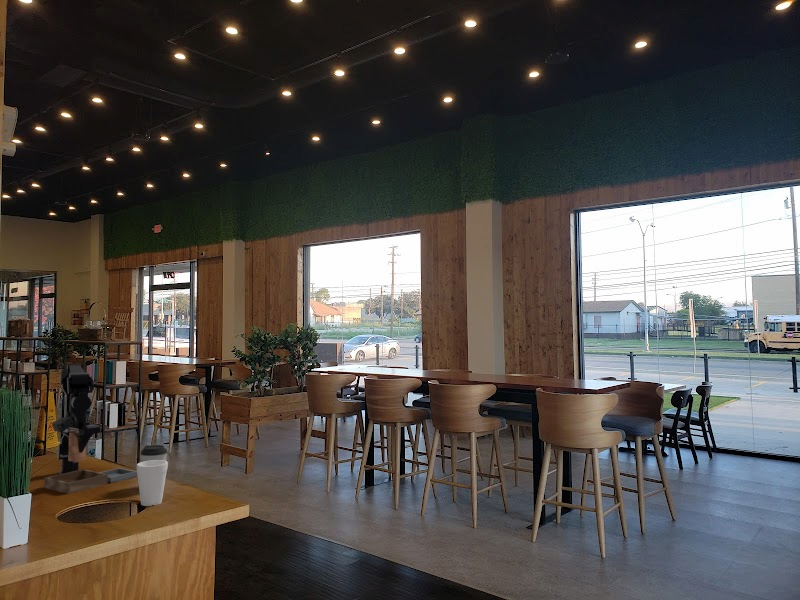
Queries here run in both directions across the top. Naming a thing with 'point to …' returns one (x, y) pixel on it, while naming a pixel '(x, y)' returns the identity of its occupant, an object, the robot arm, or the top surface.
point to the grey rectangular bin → (119, 475)
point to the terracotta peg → (75, 449)
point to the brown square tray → (75, 481)
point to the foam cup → (151, 481)
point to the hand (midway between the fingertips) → (77, 451)
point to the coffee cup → (153, 453)
